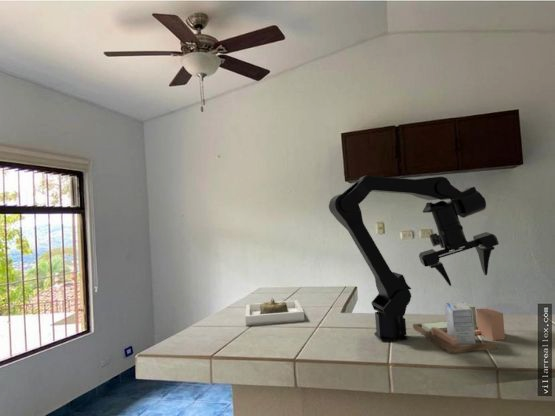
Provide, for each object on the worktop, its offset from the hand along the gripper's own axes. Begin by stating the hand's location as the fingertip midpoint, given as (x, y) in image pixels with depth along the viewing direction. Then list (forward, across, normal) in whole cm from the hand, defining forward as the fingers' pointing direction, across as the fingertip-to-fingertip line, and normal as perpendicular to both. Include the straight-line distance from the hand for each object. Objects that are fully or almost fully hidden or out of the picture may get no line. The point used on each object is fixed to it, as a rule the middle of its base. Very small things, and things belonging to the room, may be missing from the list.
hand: (467, 280), depth 103 cm
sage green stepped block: (+10, +9, +2) cm, 14 cm away
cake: (-1, +57, -18) cm, 60 cm away
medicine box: (+10, +9, +12) cm, 18 cm away
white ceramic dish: (-1, +57, -18) cm, 60 cm away
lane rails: (+10, +10, +8) cm, 16 cm away
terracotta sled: (+11, +6, +11) cm, 16 cm away
